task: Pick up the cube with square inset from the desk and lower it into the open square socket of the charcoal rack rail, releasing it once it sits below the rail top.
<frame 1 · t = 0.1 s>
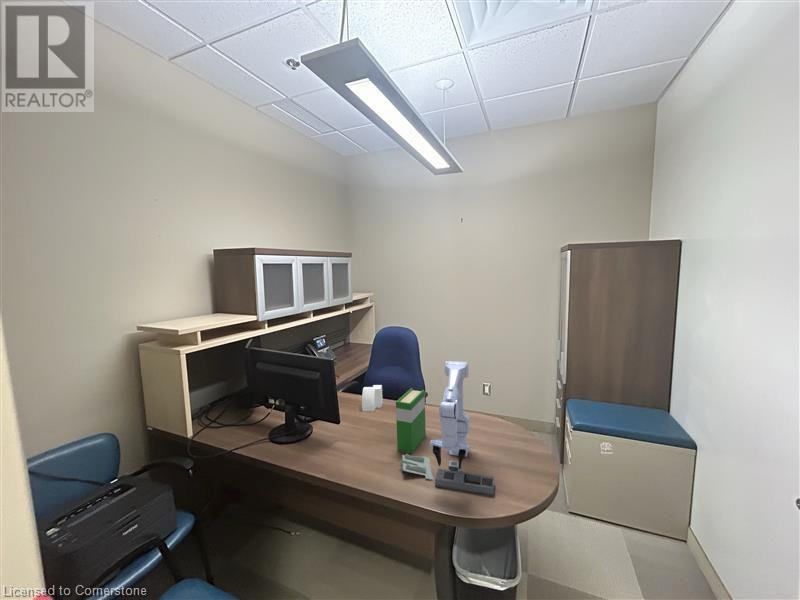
hand: (449, 466, 126), 10 cm above the table, fingers open, 7 cm apart
metal bracket: (416, 470, 141), on the table
hardback book: (412, 442, 162), on the table
rack rail: (464, 485, 130), on the table
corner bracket: (372, 407, 203), on the table
cube with square inset: (454, 472, 138), on the table
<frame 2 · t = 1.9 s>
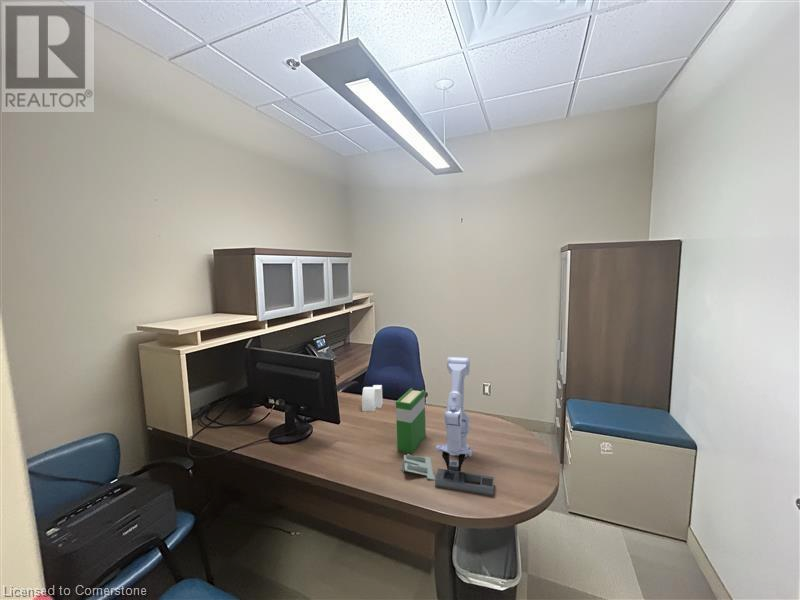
hand: (454, 469, 138), 1 cm above the table, fingers closed on cube with square inset, 4 cm apart
cube with square inset: (454, 472, 138), on the table, touching gripper
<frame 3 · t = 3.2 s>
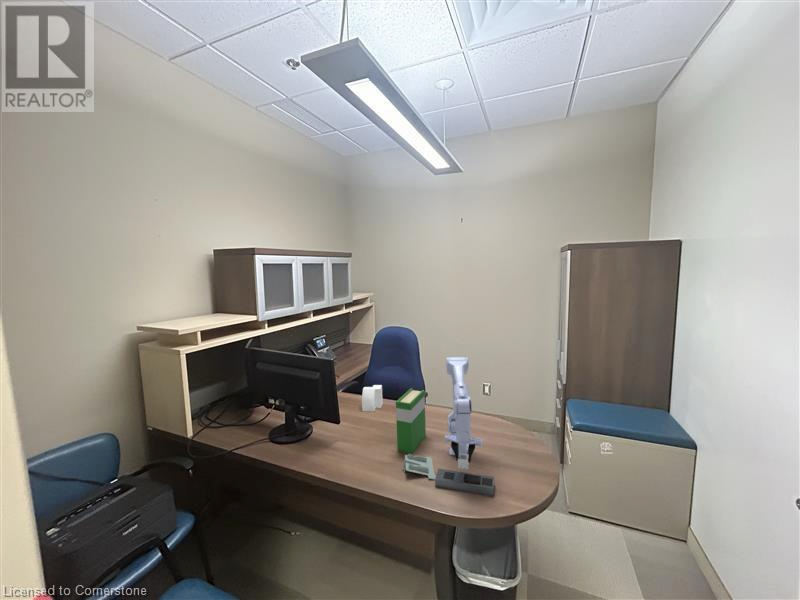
hand: (463, 460, 132), 9 cm above the table, fingers closed on cube with square inset, 4 cm apart
cube with square inset: (463, 466, 132), point 6 cm above the table, touching gripper
when the fingers open (3 cm above the table, at t = 4.7 s): cube with square inset stays where it is, resting in rack rail.
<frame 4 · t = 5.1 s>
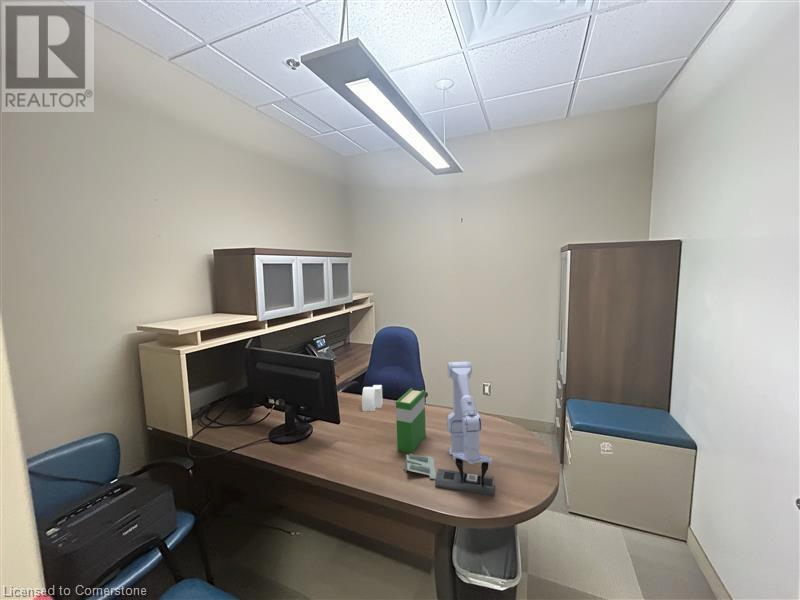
hand: (472, 478, 129), 3 cm above the table, fingers open, 7 cm apart
cube with square inset: (472, 486, 129), resting in rack rail
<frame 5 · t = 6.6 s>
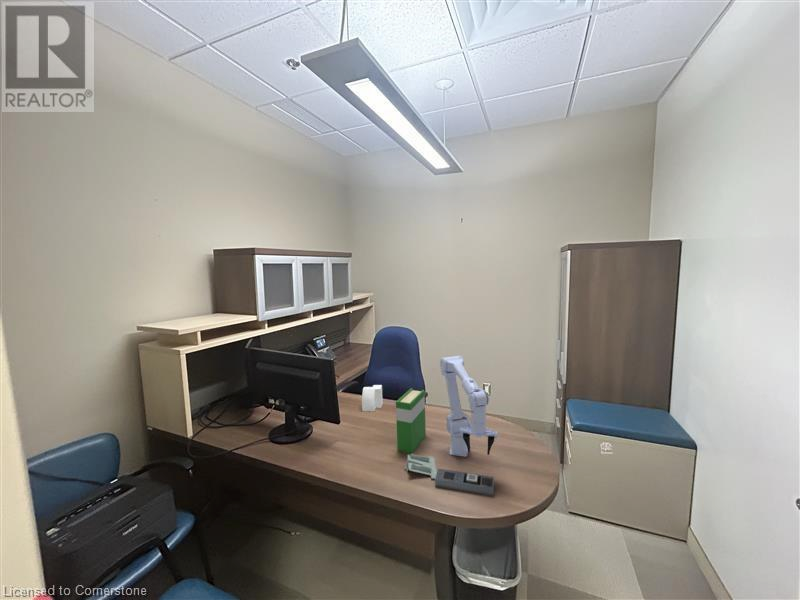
hand: (478, 452, 135), 10 cm above the table, fingers open, 7 cm apart
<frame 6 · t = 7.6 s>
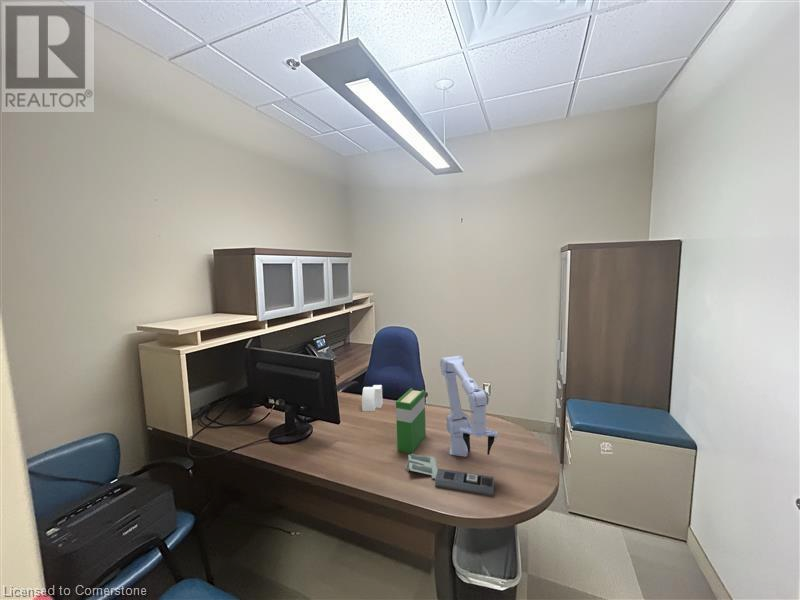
hand: (478, 452, 135), 10 cm above the table, fingers open, 7 cm apart
at the end: cube with square inset 0.0 cm from the target spot on the rack rail, point 0.0 cm above the rack rail's base; the gripper is holding nothing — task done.
